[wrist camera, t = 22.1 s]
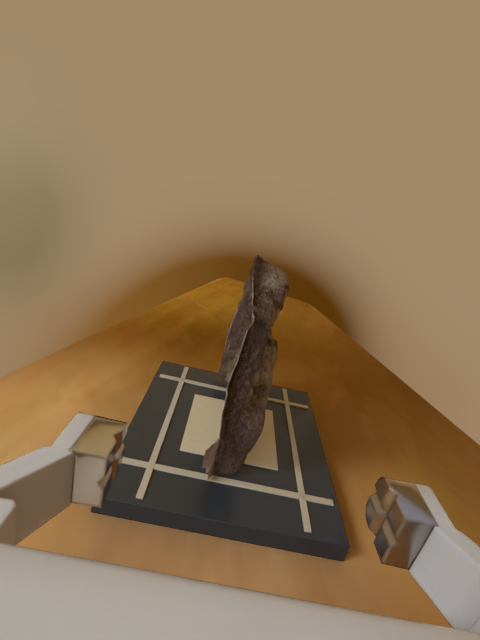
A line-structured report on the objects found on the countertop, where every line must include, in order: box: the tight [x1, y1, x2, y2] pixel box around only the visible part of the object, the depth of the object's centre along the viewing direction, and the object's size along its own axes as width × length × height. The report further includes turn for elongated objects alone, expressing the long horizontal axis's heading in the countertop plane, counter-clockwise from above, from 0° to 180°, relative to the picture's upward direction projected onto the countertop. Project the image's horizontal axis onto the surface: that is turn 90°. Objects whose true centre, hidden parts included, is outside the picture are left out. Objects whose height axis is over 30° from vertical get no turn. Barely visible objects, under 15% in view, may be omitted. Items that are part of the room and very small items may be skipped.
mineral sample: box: [202, 256, 289, 483], centre depth 31 cm, size 17×4×15 cm, turn 178°
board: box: [91, 361, 350, 561], centre depth 34 cm, size 18×20×2 cm
